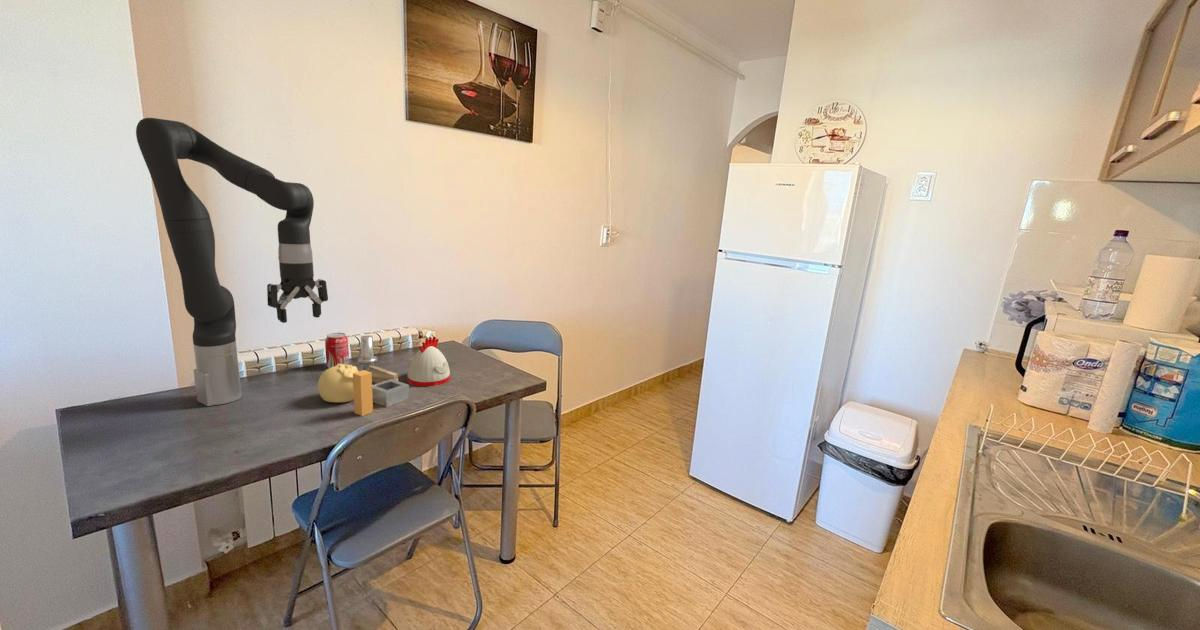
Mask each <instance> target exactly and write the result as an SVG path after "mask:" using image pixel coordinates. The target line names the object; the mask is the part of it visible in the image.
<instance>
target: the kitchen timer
mask: <svg viewBox="0 0 1200 630" xmlns="http://www.w3.org/2000/svg"><path fill="white" fill-rule="evenodd" d="M439 339H440V338H436V336H434V335H433V336H432V337H430V336H429V337H425V342H423V341H422V342H421V345H422V346H418V348H419V350H418V351H416V353H415V354H414V355H413V356H412V358H410V359H409V367H408V369H407V375H406V376H407V377H406V378H407V379H406V380H407V384H408V383H409V385H412V386H416V387H437V386H441V385H443V384H446V383H448V382H449V381H450V379H451V370H450V367H449V362H448V361H447V359H446V357H445V355H444V354H443V352H441V350H440V349H438V348H437V346H438V344H439Z"/></svg>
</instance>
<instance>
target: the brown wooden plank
mask: <svg viewBox="0 0 1200 630" xmlns="http://www.w3.org/2000/svg"><path fill="white" fill-rule="evenodd" d="M369 369H370V372H371V373H372V383H374V384H377V383H380V382H383V381H386V380H389V379H393V380H396V381H399V373H396V372H394V371H392V370H391V371H390V370H388V369H384V368H382V367H378V366H375V365H374V366H370V367H369Z"/></svg>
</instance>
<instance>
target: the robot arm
mask: <svg viewBox="0 0 1200 630" xmlns="http://www.w3.org/2000/svg"><path fill="white" fill-rule="evenodd" d="M135 129H136V130H135V136H136V141H137V144H138V148H139V150H140V153H141V155H142V157H143V160H144V163H145V165H146V168H147V170H148V172H149V176H150V178H151V180H152V183H153V186H154V190H155V193H156V195H157V196H156V197H157V199H158V202H159V206H160V209H161V215H162V218H163V223H164V225H165V230H166V234H167V236H168V239H169V242H170V246H171V249H172V252H173V255H174V258H175V261H176V264H177V266H178V270H179V274H180V279H181V285H182V294H183V301H184V306H185V307H184V308H185V310H186V312H187V313H188V314H189V315H190V316H191V317H192V318H193V322H194V323H193V332H192V344H193V351H194V352H193V353H194V359H195V367H196V368H195V369H193V378H194V384H195V385H194V386H195V393H196V394H195V395H196V400H197V402H198V403H201V404H203V405H204V406H207V407H210V406H218V405H224V404H229V403H232V402H235V401H237V400H240V399H241V398H242V384H241V376H240V367H239V358H238V348H237V339H236V331H237V322H236V309H235V300H234V297H233V294H232V293H231V291H230V290H229V289H228V288H227V287H226V286H224V285H221V284H220V281H219V278H218V274H217V271H216V238H215V237H216V236H215V233H214V232H215V231H214V227H213V223H212V219H211V215H210V213H209V210H208V209H207V207H206V206H205V204H204V203H203V202H202V200H201V199H200V198H199V197H198V195H197V194H196V193H195V192H194V191H193V190H192V189H191V188H190V186H189V185H188V184H187V182H186V180H185V179H184V176H183V174H182V171H181V168H180V164H179V160H190V161H193V162H197V163H200V164H203V165H206V166H208V167H210V168H212V169H213V170H215V171H216V172H217V173H218V174H219V175H220V176H222V178H224V179H225V180H226V181H227V182H229V183H231V184H232V185H234V186H236V187H238V188H241V189H242V190H244V191H247V192H248V193H251V194H253V195H255V196H257V198H259V199H261V200H262V201H264V202H265V203H266V204H268V205H269V206H271V207H273V208H275V209H277V210H280V211H286V214H285V218H284V219H281V220H280V221H279V222H278V223H277V239H278V247H277V248H278V249H277V251H278V254H277V255H278V264H279V276H280V283H277V284H273V283H268V284H267V286H266V287H267V288H266V289H267V292H266V293H267V294H266V295H267V306H268V307H271V308H273V309H276V317H277V319H278V321H279V322H280V323H283V324H285V323H287V322H288V318H287V309H286V307H287V306H288V305H289V303H290V302H292V300H293V299H294V300H298V299H302V298H303V299H306V298H308V299H309V300H310V301H312V303H311V307H312V309H311V310H312V316H313V317H314V318H316V319H318V318H320V316H321V315H322V304H323V302H327V301H328V300H329V296H328V287H327V282H326V280H324V279H320V278H318V279H317V280H314V261H313V260H314V259H313V249H312V246H311V232H310V226H311V221H312V217H313V213H314V204H315V203H314V196H313V194H312V191H311V190H310V188H309V187H308V186H307V185H305V184H303V183H299V182H290V181H284V180H280V179H278V178H276V177H275V175H274V174H273V173H272V172H271V171H270V170H268V169H266V168H265V167H262V166H260V165H259V164H256V163H253V162H252V161H250V160H247V159H245V158H243V157H240V156H239V155H238V154H237V155H236V154H235V153H233V152H231V151H229V150H227V149H225V148H224V147H222V146H220V145H219V144H217V143H216V142H214V141H213V140H211V139H209V138H208V137H206V136H205V135H204V134H203V133H201V132H200V131H198V130H196V129H195V128H193V127H192V126H190V125H188V124H187V123H185V122H181V121H176V120H169V119H162V118H156V117H145V118H142V119H140V120H139V122H138V123H137V125H136V127H135ZM314 288H317V293H318V295H317V294H316V293H315V291H314ZM280 290H281V291H282V293H281V294H280V296H279V297H278V293H279V292H280Z"/></svg>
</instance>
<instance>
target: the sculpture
mask: <svg viewBox="0 0 1200 630" xmlns="http://www.w3.org/2000/svg"><path fill="white" fill-rule="evenodd" d="M359 371H360V370H358V367H357V366H356V365H352V364H349V365H348V364H337V365H336V366H334V367H331V368H327V369H325V370H324V371H323V372H322V373H321V374H320V376H319V378H318V383H317V389H318V394H319V396H320V397H321V399H323V401H325V402H327V403H346V402H347V403H348V402H352V401H354V391H353V373H355V372H359Z"/></svg>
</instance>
